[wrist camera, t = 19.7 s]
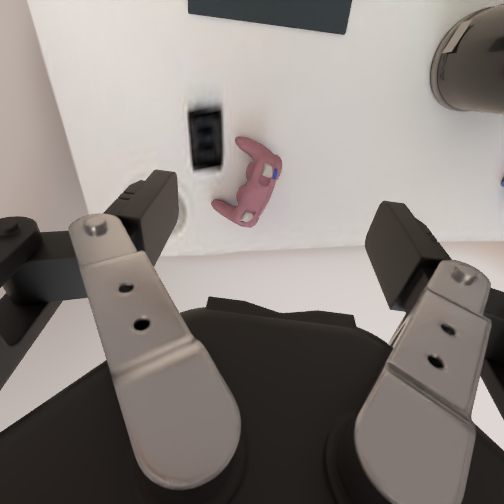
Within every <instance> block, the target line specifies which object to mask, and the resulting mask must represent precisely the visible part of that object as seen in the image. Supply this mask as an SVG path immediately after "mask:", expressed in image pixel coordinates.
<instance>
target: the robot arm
mask: <svg viewBox="0 0 504 504" xmlns="http://www.w3.org/2000/svg"><path fill="white" fill-rule="evenodd" d="M431 87H432V91H433V94H434V96H435V98H436V99H437V101H438V102H439V103H440V104H441V105H443V106H444V107H446V108H448V109H451V110H455V111H477V112H486V113H496V114H504V4H502V5H499V6H496V7H489V8H486V9H482V10H479V11H476V12H474V13H472V14H470V15H468V16H466V17H465V18H463V19H462V20H461V21H459V22H458V23H457V24H456V25H455V26H454V27H453V28H452V29H451V30H450V31H449V32H448V33H447V35H446V36H445V38H444V39H443V41H442V42H441V44H440V46H439V48H438V50H437V52H436V54H435V57H434V60H433V63H432V68H431ZM178 212H179V206H178V185H177V175H176V173H175V172H170V171H163V170H154V171H153V173H152V174H151V175H150V176H149V177H148V178H147V179H146V181H143V180H140V181H138V182H136V183H134V184H131V185H130V186H129V187H128V188H127V189H126V190H125V191H124V193H122V194H121V195H120V196H119V197H118V199H116V200H115V201H114V202H113V204H112V205H111V206H110V207H109V208H108V209H107V210H106V211H105V212H104V213H103V214H91V215H87V216H84V217H81V218H79V219H77V220H75V221H74V222H72V223H71V225H70V226H69V231H57V232H40V231H39V228H38V226H37V223H36V222H35V221H34V220H33V219H30V218H27V217H6V218H1V219H0V288H1V287H2V286H3V288H4V289H5V291H6V294H5V295H4V296H3V297H2V298H1V299H0V390H1V388H2V387H3V386H4V384H5V383H6V381H7V380H8V379H9V377H10V376H11V374H12V373H13V371H14V370H15V369H16V367H17V366H18V364H19V363H20V361H21V360H22V359H23V357H24V356H25V354H26V353H27V351H28V350H29V348H30V347H31V346H32V344H33V343H34V341H35V340H36V338H37V337H38V335H39V334H40V333H41V331H42V330H43V328H44V327H45V325H46V324H47V323H48V321H49V320H50V318H51V317H52V315H53V314H54V313H55V311H56V310H57V308H58V307H59V306H60V304H61V303H62V301H63V300H71V299H80V298H88V299H89V302H90V306H91V309H92V312H93V316H94V319H95V323H96V326H97V329H98V333H99V336H100V339H101V343H102V346H103V349H104V352H105V356H106V359H107V360H106V361H104V362H103V363H102V364H100V365H99V366H97V367H96V368H94V369H93V370H91V371H90V372H88V373H87V374H85V375H84V376H82V377H81V378H79V379H78V380H77V381H75V382H74V383H72V384H71V385H69V386H68V387H66V388H65V389H63V390H62V391H60V392H59V393H57V394H56V395H55V396H53V397H52V398H50V399H49V400H47V401H46V402H44V403H43V404H42V405H40V406H38V407H37V408H35V409H34V410H33V411H31V412H30V413H28V414H27V415H25V416H24V417H22V418H21V419H20V420H18V421H16V422H15V423H13V424H12V425H11V426H9V427H8V428H6V429H5V430H3V431H2V432H0V504H504V451H503V450H502V449H501V448H500V447H499V446H498V445H497V444H496V443H495V442H494V441H493V440H492V439H491V438H489V437H488V436H487V435H486V434H485V433H484V432H483V431H482V430H481V429H480V428H479V427H478V426H477V425H475V424H474V423H473V421H472V420H471V413H472V409H473V404H474V400H475V395H476V391H477V387H478V382H479V378H480V376H481V378H482V380H483V382H484V383H485V385H486V387H487V389H488V391H489V393H490V395H491V397H492V399H493V401H494V402H495V404H496V406H497V408H498V410H499V412H500V414H501V416H502V417H503V419H504V292H501V291H499V290H495V289H492V288H491V283H490V281H489V279H488V278H487V277H486V276H485V275H484V274H483V273H482V272H480V271H479V270H478V269H476V268H474V267H473V266H470V265H469V264H466V263H463V262H460V261H456V260H452V259H451V258H450V257H449V255H448V254H447V253H446V251H445V250H444V249H443V247H442V246H441V245H440V243H439V242H437V239H436V238H435V237H434V235H432V233H431V232H430V230H429V229H428V228H427V226H426V225H425V224H423V223H422V222H420V221H419V220H418V219H416V218H415V217H414V216H413V214H412V213H411V212H410V210H409V209H408V208H407V206H406V205H405V204H404V203H397V202H389V201H383V202H382V203H381V204H380V205H379V207H378V210H377V212H376V214H375V217H374V219H373V221H372V224H371V226H370V228H369V231H368V233H367V236H366V240H365V248H366V251H367V254H368V256H369V258H370V261H371V263H372V266H373V268H374V271H375V273H376V276H377V278H378V281H379V283H380V286H381V288H382V291H383V293H384V296H385V298H386V301H387V303H388V306H389V308H390V310H398V311H405V312H406V315H405V316H404V318H403V320H402V321H401V323H400V324H399V326H398V328H397V329H396V331H395V333H394V335H393V336H392V338H391V340H390V342H389V343H388V344H387V343H386V342H385V341H383V340H382V339H380V338H379V337H377V336H375V335H373V334H372V333H369V332H368V331H365V330H363V329H361V328H358V327H356V324H355V320H354V316H353V315H349V314H341V313H333V312H325V311H306V312H294V313H279V312H275V311H272V310H269V309H266V308H263V307H260V306H257V305H255V304H252V303H249V302H246V301H240V300H232V299H225V298H217V297H208V301H207V305H206V307H205V308H204V307H203V308H197V309H191V310H188V311H185V312H181V313H179V311H178V310H177V308H176V306H175V304H174V302H173V301H172V299H171V297H170V296H169V294H168V292H167V290H166V288H165V287H164V285H163V283H162V281H161V280H160V278H159V276H158V274H157V273H156V271H155V269H154V266H155V264H156V262H157V260H158V258H159V256H160V254H161V252H162V250H163V248H164V246H165V244H166V242H167V240H168V238H169V237H170V235H171V233H172V231H173V229H174V227H175V225H176V223H177V219H178Z"/></svg>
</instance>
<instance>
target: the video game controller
mask: <svg viewBox="0 0 504 504" xmlns="http://www.w3.org/2000/svg"><path fill="white" fill-rule="evenodd" d="M235 142H236V144H237V145H238V147H239V148H240V149H242V150H243V151H245V152H246V153H247V154H249V155H250V156H251V157H252V158H253V159H254V162H251V163H250V164H249V165H248V168H247V171H246V177H247V179H248V182H247V183H246V185H245V186H241V187H240V188H239V190H238V192H237V201H238V205H237V206H232V205H230V204H228V203H226V202H223V201H220V200H213V201H212V202H211V205H212V207H213V208H214V209H215V210H216V211H217V212H219V213H220V214H221V215H223V216H224V217H226V218H228V219H229V220H231V221H232V222H234V223H236V224H238V225H240V226H243V227H253V226H254V225H255V224H256V223H257V221H258V219H259V216H260V215H261V213H262V212H263V210H264V209H265V207H266V205H267V203H268V201H269V199H270V196H271V194H272V191H273V188H274V185H275V182H276V180H277V179H278V177H279V176H280V173H281V170H282V161H281V159H280V157H279V156H278V155H275V154H273V153H272V152H271V151H270V150H269V149H267V148H266V147H265V146H263V145H262V144H260V143H258V142H255V141H253V140H251V139H248V138H246V137H237V138H236V139H235Z"/></svg>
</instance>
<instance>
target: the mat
mask: <svg viewBox="0 0 504 504" xmlns="http://www.w3.org/2000/svg"><path fill="white" fill-rule="evenodd" d="M351 3H352V0H188V13H190V14H198V15H205V16H212V17H220V18H227V19H234V20H242V21H249V22H256V23H264V24H271V25H278V26H285V27H293V28H300V29H307V30H315V31H322V32H329V33H337V34H345V32H346V28H347V23H348V18H349V13H350V8H351Z"/></svg>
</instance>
